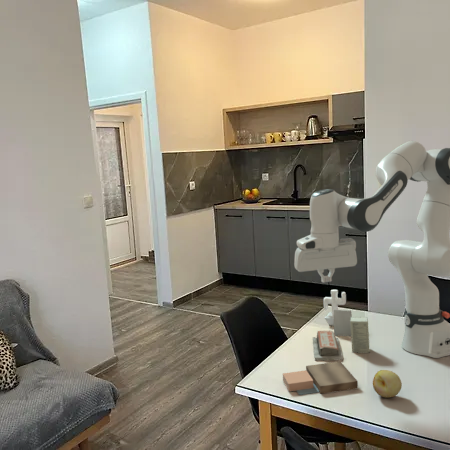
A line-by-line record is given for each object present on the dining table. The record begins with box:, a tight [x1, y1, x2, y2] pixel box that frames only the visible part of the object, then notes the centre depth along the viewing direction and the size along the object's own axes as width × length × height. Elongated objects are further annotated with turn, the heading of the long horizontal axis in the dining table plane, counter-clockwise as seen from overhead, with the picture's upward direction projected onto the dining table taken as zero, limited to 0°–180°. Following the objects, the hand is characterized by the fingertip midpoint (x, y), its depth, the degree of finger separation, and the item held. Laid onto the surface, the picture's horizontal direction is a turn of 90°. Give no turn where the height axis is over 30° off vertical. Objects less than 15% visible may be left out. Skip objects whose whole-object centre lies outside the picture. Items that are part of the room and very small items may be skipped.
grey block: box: [333, 309, 353, 337], centre depth 181 cm, size 4×7×10 cm, turn 71°
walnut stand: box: [305, 360, 359, 395], centre depth 146 cm, size 12×14×2 cm
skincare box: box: [350, 316, 370, 354], centre depth 165 cm, size 6×4×12 cm
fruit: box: [372, 369, 403, 398], centre depth 134 cm, size 8×8×8 cm
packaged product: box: [312, 330, 344, 361], centre depth 169 cm, size 18×5×10 cm
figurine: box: [323, 289, 347, 327], centre depth 192 cm, size 7×9×15 cm
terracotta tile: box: [282, 369, 314, 392], centre depth 145 cm, size 8×7×2 cm
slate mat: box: [296, 383, 320, 396], centre depth 145 cm, size 8×12×1 cm, turn 8°
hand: (326, 281), depth 148 cm, fingers closed
